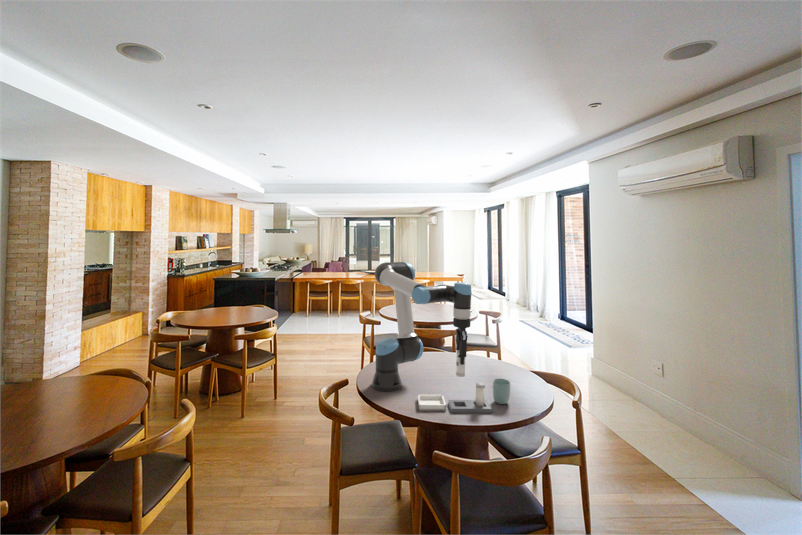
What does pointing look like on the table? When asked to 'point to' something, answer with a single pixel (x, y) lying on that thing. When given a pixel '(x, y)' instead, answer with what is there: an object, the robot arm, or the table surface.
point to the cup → (501, 391)
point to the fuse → (480, 394)
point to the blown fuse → (458, 373)
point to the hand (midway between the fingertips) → (460, 369)
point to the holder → (469, 406)
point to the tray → (431, 402)
